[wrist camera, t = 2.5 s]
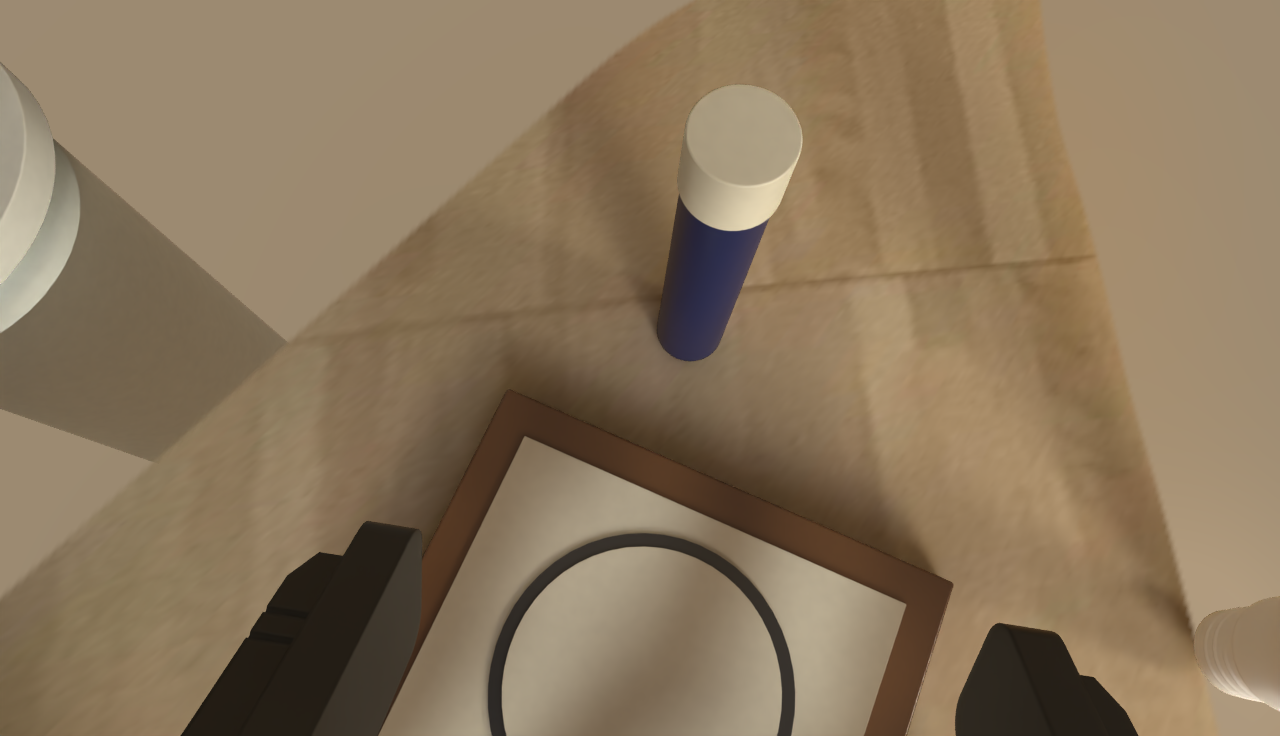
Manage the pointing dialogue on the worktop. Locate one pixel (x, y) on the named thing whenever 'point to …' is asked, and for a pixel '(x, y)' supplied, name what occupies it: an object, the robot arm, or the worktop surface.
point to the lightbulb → (1243, 651)
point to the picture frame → (650, 603)
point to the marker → (723, 209)
